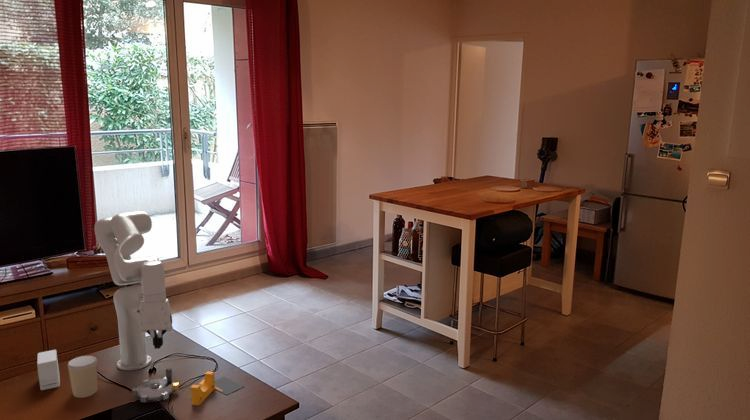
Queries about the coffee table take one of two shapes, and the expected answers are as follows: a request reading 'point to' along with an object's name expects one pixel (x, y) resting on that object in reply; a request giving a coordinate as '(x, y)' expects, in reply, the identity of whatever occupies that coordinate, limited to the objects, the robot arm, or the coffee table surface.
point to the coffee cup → (83, 376)
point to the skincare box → (48, 370)
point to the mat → (226, 385)
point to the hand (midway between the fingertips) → (158, 347)
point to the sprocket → (156, 388)
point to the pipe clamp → (203, 388)
